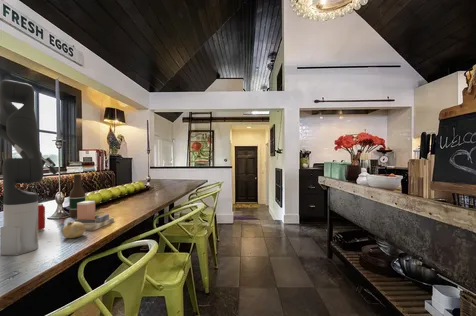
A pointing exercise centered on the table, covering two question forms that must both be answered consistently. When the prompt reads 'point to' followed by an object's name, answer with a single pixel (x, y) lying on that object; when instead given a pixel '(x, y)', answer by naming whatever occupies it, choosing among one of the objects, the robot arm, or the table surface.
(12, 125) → the robot arm
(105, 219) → the console
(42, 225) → the beverage can
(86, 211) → the pink box
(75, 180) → the beer bottle
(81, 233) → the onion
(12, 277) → the table surface
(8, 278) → the table surface
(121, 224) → the table surface
